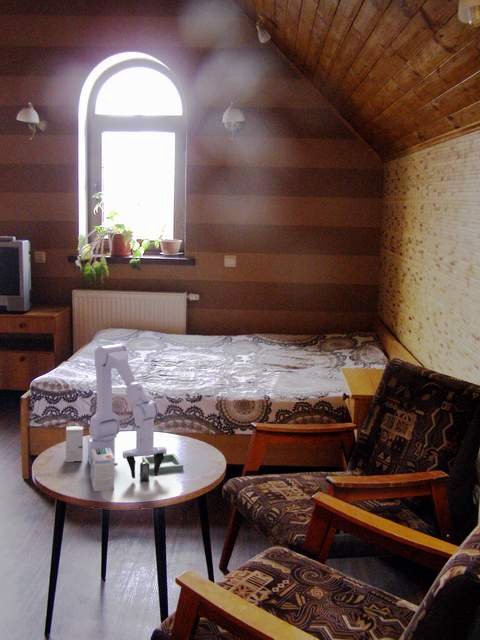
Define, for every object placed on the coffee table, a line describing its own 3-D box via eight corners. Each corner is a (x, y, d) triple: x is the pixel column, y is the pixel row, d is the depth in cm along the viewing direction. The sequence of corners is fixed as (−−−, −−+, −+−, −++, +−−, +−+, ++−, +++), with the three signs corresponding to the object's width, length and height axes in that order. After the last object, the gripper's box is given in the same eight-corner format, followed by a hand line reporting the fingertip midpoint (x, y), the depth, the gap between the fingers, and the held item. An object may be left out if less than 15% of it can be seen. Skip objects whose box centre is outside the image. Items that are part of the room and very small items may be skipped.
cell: (141, 482, 221) (141, 464, 220) (139, 479, 224) (139, 461, 223) (149, 481, 222) (150, 463, 221) (147, 478, 225) (148, 460, 224)
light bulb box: (90, 479, 222) (90, 448, 221) (110, 477, 225) (110, 447, 223) (93, 491, 213) (93, 459, 211) (114, 489, 215) (115, 458, 213)
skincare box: (65, 462, 237) (65, 430, 235) (65, 458, 241) (65, 426, 239) (83, 461, 238) (83, 429, 236) (83, 457, 242) (83, 425, 240)
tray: (149, 474, 228) (149, 468, 228) (142, 462, 239) (142, 456, 239) (183, 470, 233) (183, 465, 232) (174, 458, 244) (174, 453, 243)
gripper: (125, 443, 214) (125, 482, 216) (169, 439, 219) (168, 478, 221) (121, 436, 221) (121, 475, 223) (163, 432, 226) (163, 470, 228)
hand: (144, 476), depth 222 cm, fingers open, 7 cm apart
